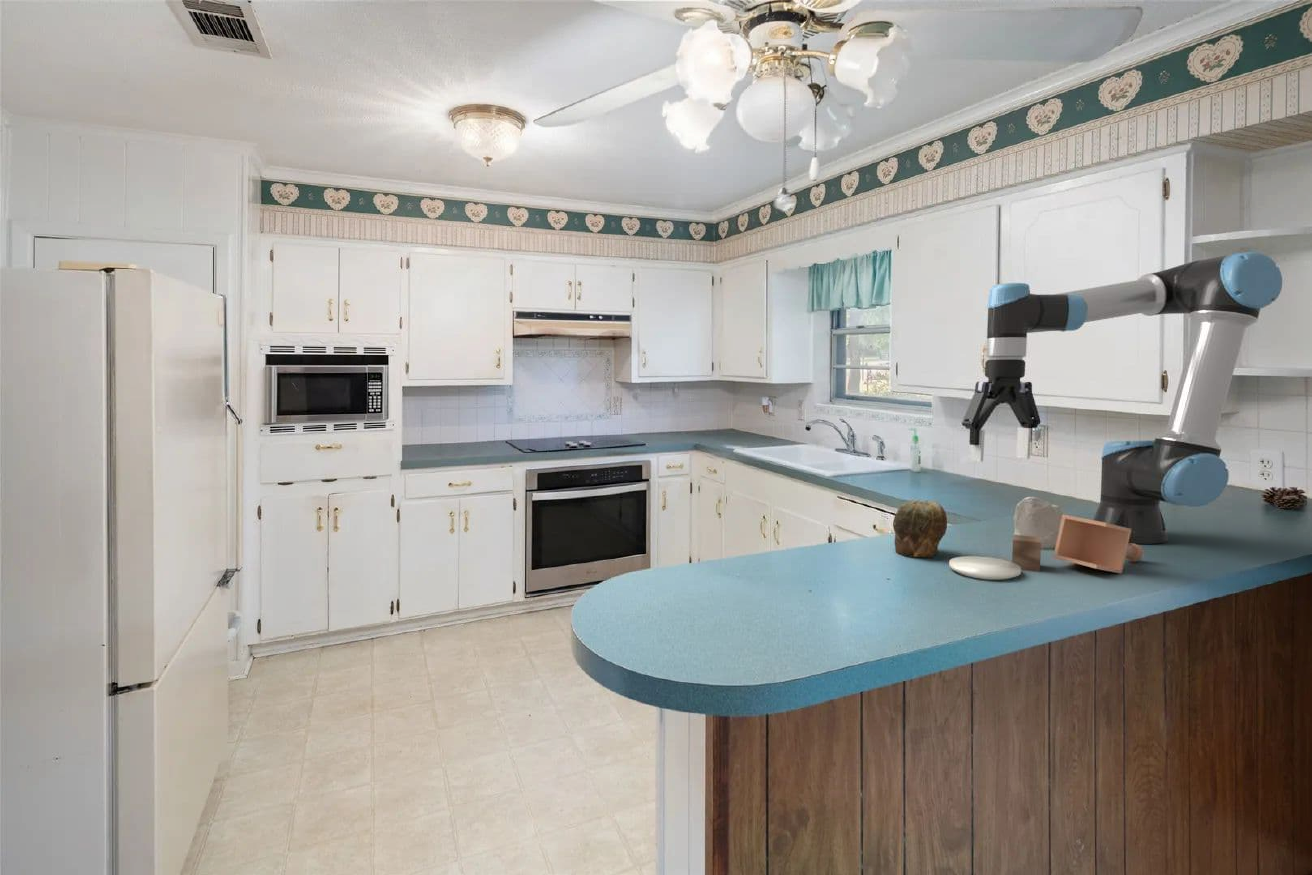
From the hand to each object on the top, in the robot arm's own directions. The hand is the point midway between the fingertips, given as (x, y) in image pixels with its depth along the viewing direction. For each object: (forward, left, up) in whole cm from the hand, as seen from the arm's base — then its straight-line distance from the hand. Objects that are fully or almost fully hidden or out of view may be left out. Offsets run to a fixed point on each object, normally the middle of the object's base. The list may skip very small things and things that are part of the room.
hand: (1000, 459), depth 148 cm
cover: (-10, +12, -15) cm, 22 cm away
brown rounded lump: (+15, -4, -21) cm, 27 cm away
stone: (-14, -8, -21) cm, 27 cm away
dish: (+8, +10, -21) cm, 25 cm away
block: (-2, +8, -21) cm, 23 cm away
